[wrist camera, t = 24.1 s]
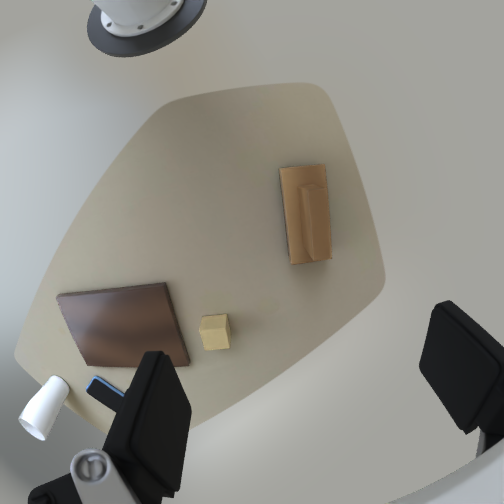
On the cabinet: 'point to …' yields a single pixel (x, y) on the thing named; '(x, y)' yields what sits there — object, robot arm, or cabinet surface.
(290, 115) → the cabinet surface
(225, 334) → the cream foam cube
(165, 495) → the robot arm
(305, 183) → the brown block with base
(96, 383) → the smartphone
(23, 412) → the drinking glass
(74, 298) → the book
